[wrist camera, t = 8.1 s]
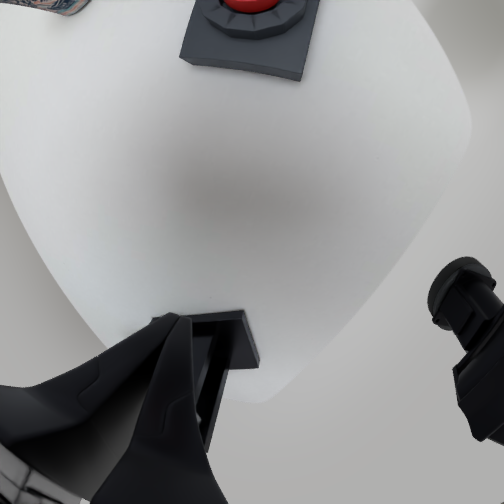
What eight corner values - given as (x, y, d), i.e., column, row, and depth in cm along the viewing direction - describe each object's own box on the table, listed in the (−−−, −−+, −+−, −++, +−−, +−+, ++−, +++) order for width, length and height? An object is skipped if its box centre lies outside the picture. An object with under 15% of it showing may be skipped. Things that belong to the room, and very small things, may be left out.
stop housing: (222, -33, 12) (208, -60, 8) (323, -20, 12) (330, -49, 8) (192, 65, 16) (167, 51, 12) (300, 81, 16) (303, 68, 12)
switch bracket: (177, 362, 30) (142, 445, 19) (152, 317, 27) (100, 404, 16) (259, 360, 28) (244, 459, 17) (243, 309, 25) (215, 421, 14)
